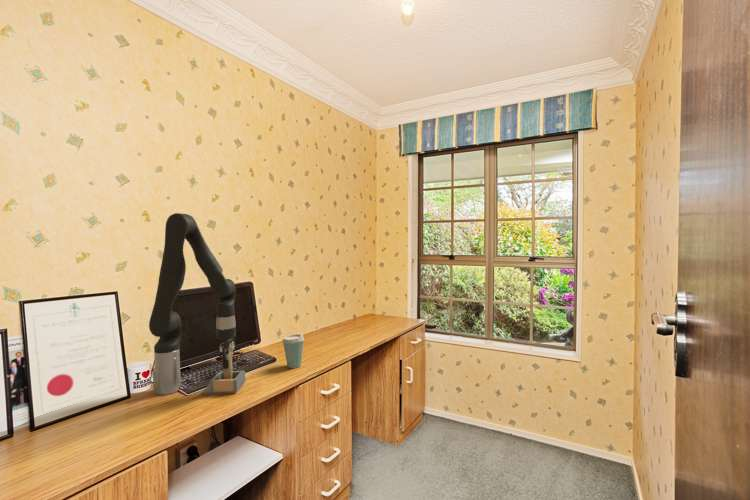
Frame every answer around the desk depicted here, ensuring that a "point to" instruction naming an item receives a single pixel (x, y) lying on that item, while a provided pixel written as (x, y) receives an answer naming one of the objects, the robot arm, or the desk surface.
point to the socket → (225, 383)
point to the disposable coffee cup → (293, 349)
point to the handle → (228, 372)
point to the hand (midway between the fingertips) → (227, 366)
